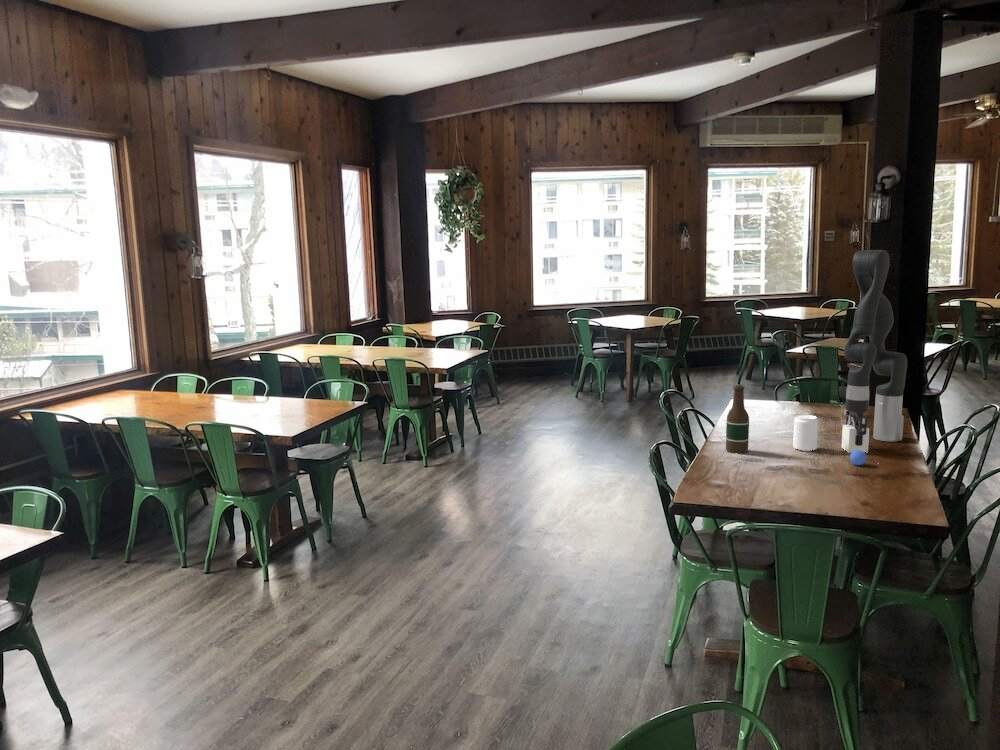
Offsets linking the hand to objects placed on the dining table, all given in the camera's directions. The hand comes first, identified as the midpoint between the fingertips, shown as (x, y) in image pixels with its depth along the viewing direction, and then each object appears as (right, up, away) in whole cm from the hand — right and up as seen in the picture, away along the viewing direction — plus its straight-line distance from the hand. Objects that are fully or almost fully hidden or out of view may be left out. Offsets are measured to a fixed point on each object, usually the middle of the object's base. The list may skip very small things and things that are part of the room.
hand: (854, 442), depth 291 cm
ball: (-7, -4, -18) cm, 20 cm away
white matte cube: (0, -3, 0) cm, 3 cm away
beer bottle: (-42, -3, +2) cm, 42 cm away
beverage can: (-17, -3, +3) cm, 17 cm away
